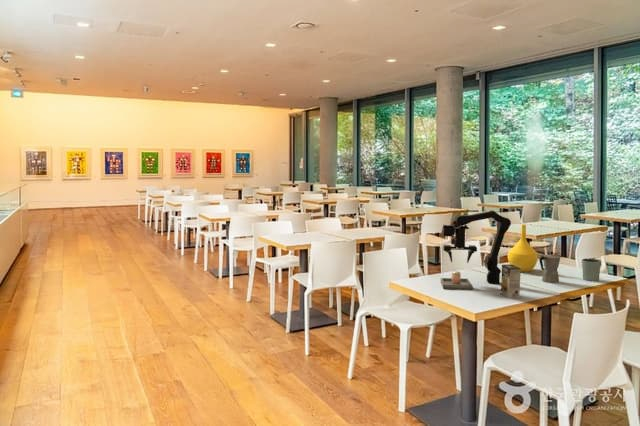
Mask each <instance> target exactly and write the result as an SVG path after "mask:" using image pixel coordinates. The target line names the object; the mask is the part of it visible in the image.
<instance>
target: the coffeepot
mask: <svg viewBox="0 0 640 426" xmlns="http://www.w3.org/2000/svg"><path fill="white" fill-rule="evenodd" d="M561 258H562V257H561V256H560V255H557V254H556V255H555V254H554V252H553V251H552V250H551V251H550V254H544V255H542V256H540V258H538V259H539V260H538V261H539V265H540V269H541V270H542V271H543V275H542V280H541V281H542V282H543V283H548V284H558V283H559V282H560V278H559V271H558V269H559V265H560V261H561Z"/></svg>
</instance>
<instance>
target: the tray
mask: <svg viewBox="0 0 640 426" xmlns="http://www.w3.org/2000/svg"><path fill="white" fill-rule="evenodd" d="M451 281H452V277H449V278H448V277H441V278H440V285H441V287H442V289H443V290H466V291H467V290H468V291H469V290H473V285H472V282H471V281H470V280H469V278H461V280H460V285H453V284H451Z"/></svg>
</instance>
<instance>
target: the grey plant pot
mask: <svg viewBox="0 0 640 426" xmlns="http://www.w3.org/2000/svg"><path fill="white" fill-rule="evenodd" d="M601 266H602V260H600V259H598V258H597V259H596V258H582V259H581V267H582V279H583V281H586V282H592V281H596V282H599V281H600V274H601Z"/></svg>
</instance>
